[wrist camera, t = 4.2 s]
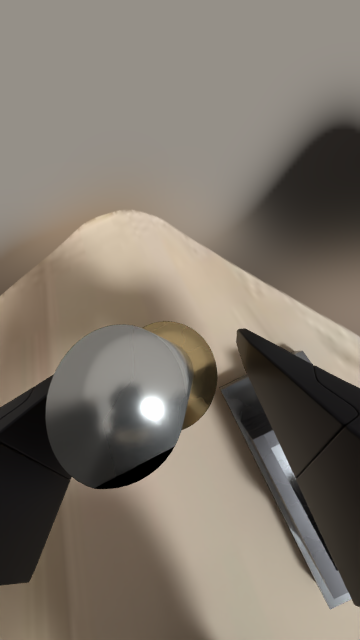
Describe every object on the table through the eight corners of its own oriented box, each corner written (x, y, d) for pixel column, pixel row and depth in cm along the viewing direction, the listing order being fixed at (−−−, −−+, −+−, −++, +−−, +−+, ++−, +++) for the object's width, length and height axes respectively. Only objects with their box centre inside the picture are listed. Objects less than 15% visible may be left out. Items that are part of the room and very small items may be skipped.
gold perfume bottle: (174, 391, 14) (7, 646, 2) (158, 352, 15) (-10, 337, 3) (213, 372, 14) (318, 496, 2) (193, 334, 15) (175, 246, 3)
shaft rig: (316, 584, 10) (381, 706, 6) (219, 387, 13) (226, 398, 10) (421, 533, 10) (542, 628, 6) (295, 351, 13) (327, 349, 10)
